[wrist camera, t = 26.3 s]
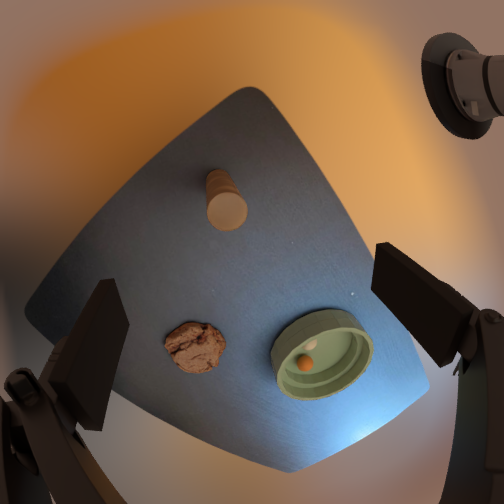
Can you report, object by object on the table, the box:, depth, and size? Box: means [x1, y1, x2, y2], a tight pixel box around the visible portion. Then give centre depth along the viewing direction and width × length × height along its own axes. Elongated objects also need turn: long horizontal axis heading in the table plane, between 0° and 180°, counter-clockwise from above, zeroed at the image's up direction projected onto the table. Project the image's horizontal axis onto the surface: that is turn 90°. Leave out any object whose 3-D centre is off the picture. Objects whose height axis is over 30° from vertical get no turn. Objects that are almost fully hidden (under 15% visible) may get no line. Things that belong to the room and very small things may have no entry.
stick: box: [206, 169, 248, 231], centre depth 29 cm, size 3×3×15 cm
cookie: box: [165, 322, 226, 373], centre depth 44 cm, size 10×11×3 cm
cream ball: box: [302, 339, 317, 350], centre depth 46 cm, size 3×3×3 cm
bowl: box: [271, 309, 374, 400], centre depth 47 cm, size 18×18×6 cm
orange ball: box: [297, 355, 313, 372], centre depth 48 cm, size 3×3×3 cm
